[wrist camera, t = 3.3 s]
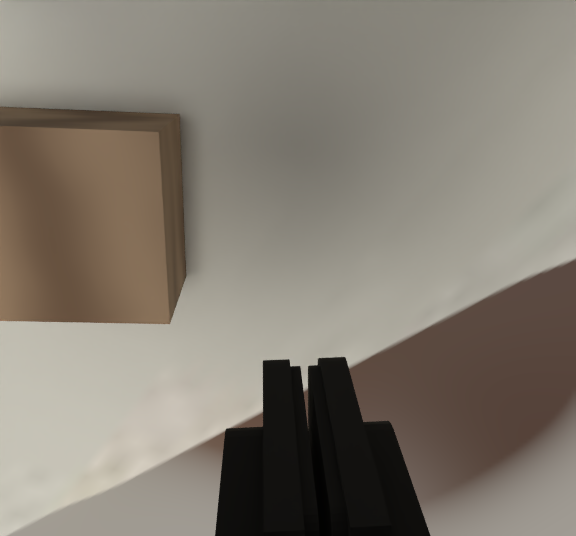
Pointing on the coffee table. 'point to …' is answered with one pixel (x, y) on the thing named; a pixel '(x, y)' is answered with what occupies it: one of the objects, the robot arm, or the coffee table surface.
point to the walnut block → (90, 216)
